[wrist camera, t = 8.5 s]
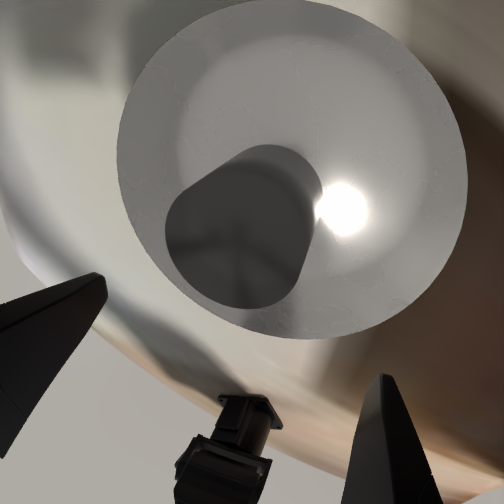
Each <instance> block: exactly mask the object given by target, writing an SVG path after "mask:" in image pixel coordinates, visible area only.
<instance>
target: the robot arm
mask: <svg viewBox="0 0 504 504" xmlns="http://www.w3.org/2000/svg"><path fill="white" fill-rule="evenodd" d="M107 298H108V291H107V286H106V280H105V277H104V276H103V275H100V274H98V273H96V272H93V273H89V274H86V275H83V276H80V277H78V278H75V279H72V280H69V281H66V282H63V283H60V284H57V285H54V286H51V287H48V288H45V289H43V290H40V291H37V292H34V293H31V294H29V295H26V296H23V297H20V298H17V299H14V300H12V301H9V302H7V303H6V304H5V303H3V304H0V458H1V459H3V458H4V457H5V455H6V453H7V451H8V450H9V448H10V447H11V445H12V443H13V441H14V440H15V438H16V437H17V435H18V433H19V432H20V430H21V428H22V427H23V425H24V424H25V422H26V420H27V418H28V417H29V416H30V414H31V412H32V411H33V409H34V408H35V406H36V405H37V403H38V402H39V400H40V399H41V397H42V396H43V394H44V393H45V391H46V390H47V388H48V387H49V385H50V384H51V383H52V381H53V380H54V378H55V377H56V375H57V374H58V372H59V371H60V370H61V368H62V367H63V365H64V364H65V363H66V361H67V360H68V358H69V357H70V355H71V354H72V353H73V351H74V350H75V349H76V347H77V346H78V345H79V343H80V342H81V340H82V339H83V338H84V336H85V335H86V333H87V332H88V330H89V329H90V327H91V325H92V324H93V322H94V320H95V319H96V317H97V316H98V314H99V312H100V311H101V309H102V307H103V306H104V304H105V303H106V301H107ZM217 400H218V401H219V402H220V404H221V405H222V406H223V410H222V412H221V414H220V416H219V418H218V420H217V422H216V424H215V429H214V431H213V433H212V435H211V437H210V439H208V438H206V437H203V435H200V434H198V436H197V437H194V438H193V439H192V441H191V443H190V444H189V446H188V448H187V449H186V451H185V452H184V453H183V454H182V455H181V457H180V458H179V459H178V460H177V461H176V463H175V468H176V475H175V480H177V483H176V485H175V487H174V499H175V504H257V503H258V500H259V498H260V496H261V493H262V491H263V488H264V485H265V482H266V479H267V476H268V473H269V470H270V467H271V464H272V461H273V460H272V459H266V458H262V457H260V456H261V453H262V450H263V448H264V445H265V443H266V440H267V437H268V434H269V432H270V429H278V430H281V429H282V428H283V424H282V423H281V421H280V419H279V418H278V416H277V414H276V413H275V411H274V409H273V408H272V406H271V404H270V403H269V401H268V400H267V399H264V398H249V397H234V396H222V395H219V396H218V398H217ZM431 474H432V472H431V469H430V467H429V464H428V461H427V458H426V456H425V453H424V451H423V448H422V445H421V443H420V440H419V438H418V435H417V433H416V430H415V428H414V425H413V423H412V420H411V418H410V415H409V413H408V411H407V408H406V406H405V404H404V401H403V399H402V397H401V394H400V392H399V390H398V387H397V385H396V383H395V380H394V378H393V377H392V376H391V375H388V374H384V373H379V374H378V375H377V376H376V378H375V379H374V380H373V382H372V383H371V384H370V386H369V387H368V389H367V391H366V393H365V397H364V401H363V405H362V409H361V413H360V417H359V421H358V424H357V428H356V432H355V435H354V439H353V445H352V450H351V456H350V462H349V467H348V472H347V477H346V482H345V487H344V491H343V496H342V500H341V504H443V501H442V499H441V496H440V494H439V491H438V488H437V486H436V483H435V480H434V477H433V475H431Z"/></svg>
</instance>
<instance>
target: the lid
mask: <svg viewBox="0 0 504 504" xmlns="http://www.w3.org/2000/svg"><path fill="white" fill-rule="evenodd" d="M117 170H118V180H119V185H120V190H121V195H122V199H123V202H124V205H125V208H126V211H127V214H128V217H129V220H130V222H131V224H132V226H133V228H134V231H135V233H136V235H137V237H138V238H139V240H140V242H141V244H142V245H143V247H144V249H145V250H146V252H147V253H148V255H149V256H150V257H151V259H152V260H153V262H154V263H155V264H156V266H157V267H158V268H159V269H160V270H161V271H162V273H163V274H164V275H165V276H166V277H167V278H168V279H169V280H170V281H171V282H172V283H173V284H174V285H175V286H176V287H177V288H178V289H179V290H180V291H181V292H183V293H184V294H185V295H186V296H188V297H189V298H190V299H192V300H193V301H194V302H195V303H197V304H198V305H200V306H201V307H203V308H204V309H206V310H208V311H209V312H211V313H212V314H214V315H216V316H218V317H220V318H222V319H224V320H226V321H228V322H230V323H232V324H235V325H237V326H240V327H243V328H245V329H248V330H251V331H255V332H258V333H262V334H265V335H270V336H276V337H282V338H291V339H325V338H332V337H339V336H344V335H348V334H352V333H355V332H359V331H362V330H365V329H367V328H370V327H372V326H375V325H377V324H380V323H381V322H383V321H385V320H387V319H389V318H391V317H392V316H394V315H396V314H397V313H399V312H400V311H402V310H403V309H404V308H406V307H407V306H408V305H410V304H411V303H412V302H414V301H415V300H416V299H417V298H418V297H419V296H420V295H421V294H422V293H423V292H424V291H425V290H426V289H427V288H428V287H429V286H430V284H431V283H432V282H433V281H434V279H435V278H436V277H437V275H438V274H439V273H440V271H441V270H442V268H443V267H444V265H445V263H446V261H447V260H448V258H449V256H450V254H451V253H452V251H453V248H454V246H455V243H456V241H457V238H458V235H459V233H460V230H461V227H462V222H463V218H464V213H465V208H466V201H467V184H468V176H467V165H466V156H465V150H464V146H463V142H462V138H461V134H460V130H459V127H458V124H457V121H456V119H455V117H454V114H453V112H452V110H451V108H450V105H449V103H448V101H447V99H446V97H445V96H444V94H443V92H442V91H441V89H440V88H439V86H438V85H437V83H436V82H435V80H434V79H433V77H432V76H431V74H430V73H429V72H428V70H427V69H426V68H425V67H424V66H423V65H422V64H421V63H420V61H419V60H418V59H417V58H416V57H415V56H414V55H413V54H412V53H411V52H410V51H409V50H408V49H407V48H406V47H405V46H403V45H402V44H401V43H400V42H398V41H397V40H396V39H395V38H393V37H392V36H391V35H390V34H388V33H387V32H386V31H384V30H382V29H381V28H379V27H377V26H375V25H374V24H372V23H370V22H368V21H367V20H365V19H363V18H361V17H359V16H357V15H354V14H352V13H349V12H347V11H344V10H341V9H338V8H336V7H333V6H330V5H325V4H320V3H316V2H310V1H305V0H256V1H249V2H243V3H240V4H236V5H232V6H229V7H225V8H222V9H219V10H217V11H214V12H212V13H210V14H208V15H206V16H203V17H201V18H199V19H197V20H196V21H194V22H192V23H191V24H189V25H188V26H186V27H185V28H183V29H182V30H180V31H179V32H177V33H176V34H175V35H174V36H173V37H171V38H170V39H169V40H168V41H167V42H166V43H165V44H164V45H162V46H161V47H160V48H159V49H158V51H157V52H156V53H155V54H154V55H153V57H152V58H151V59H150V60H149V61H148V63H147V64H146V65H145V67H144V68H143V70H142V71H141V73H140V75H139V76H138V78H137V80H136V81H135V83H134V85H133V87H132V89H131V92H130V94H129V96H128V98H127V101H126V103H125V107H124V110H123V114H122V117H121V121H120V126H119V133H118V140H117Z"/></svg>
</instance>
